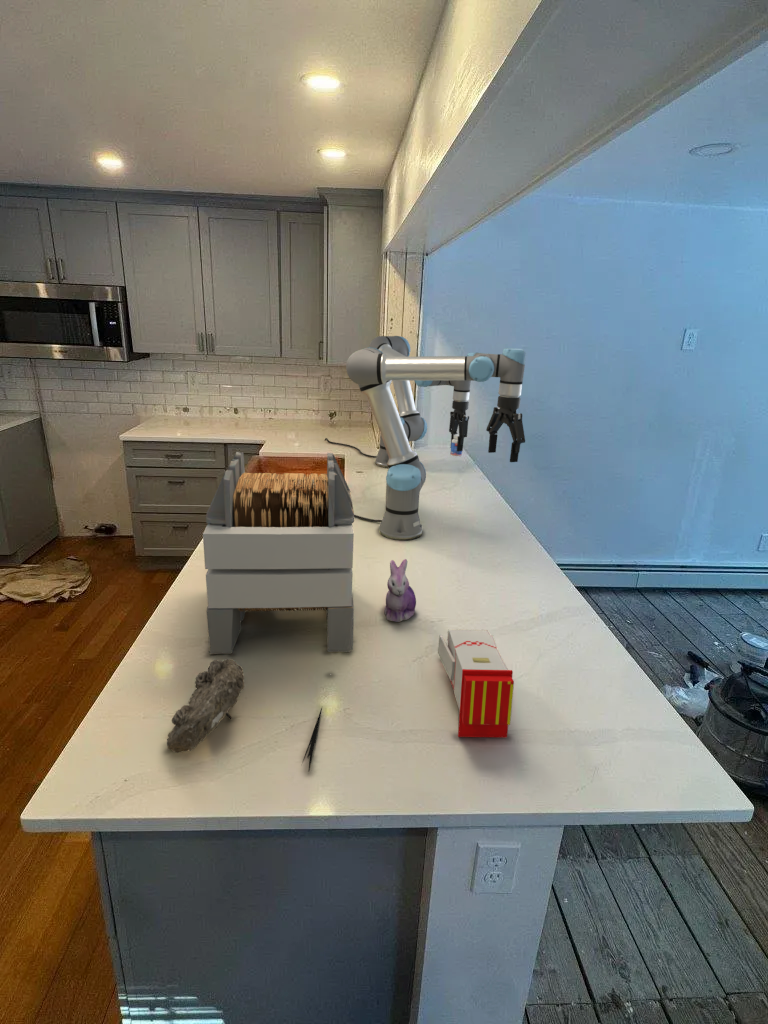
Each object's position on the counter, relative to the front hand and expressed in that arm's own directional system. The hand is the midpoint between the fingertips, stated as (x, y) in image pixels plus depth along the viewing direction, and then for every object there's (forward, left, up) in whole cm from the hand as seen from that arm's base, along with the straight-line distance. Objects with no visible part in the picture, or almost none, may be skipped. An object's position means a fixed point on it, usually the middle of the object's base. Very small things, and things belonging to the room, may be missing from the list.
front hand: (502, 457), depth 199 cm
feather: (+46, -109, -27) cm, 121 cm away
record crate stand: (+9, -94, -27) cm, 98 cm away
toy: (+58, -79, -27) cm, 102 cm away
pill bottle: (-58, +41, -17) cm, 73 cm away
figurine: (+25, -70, -27) cm, 79 cm away
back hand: (-58, +41, -14) cm, 73 cm away
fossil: (+32, -124, -27) cm, 131 cm away
